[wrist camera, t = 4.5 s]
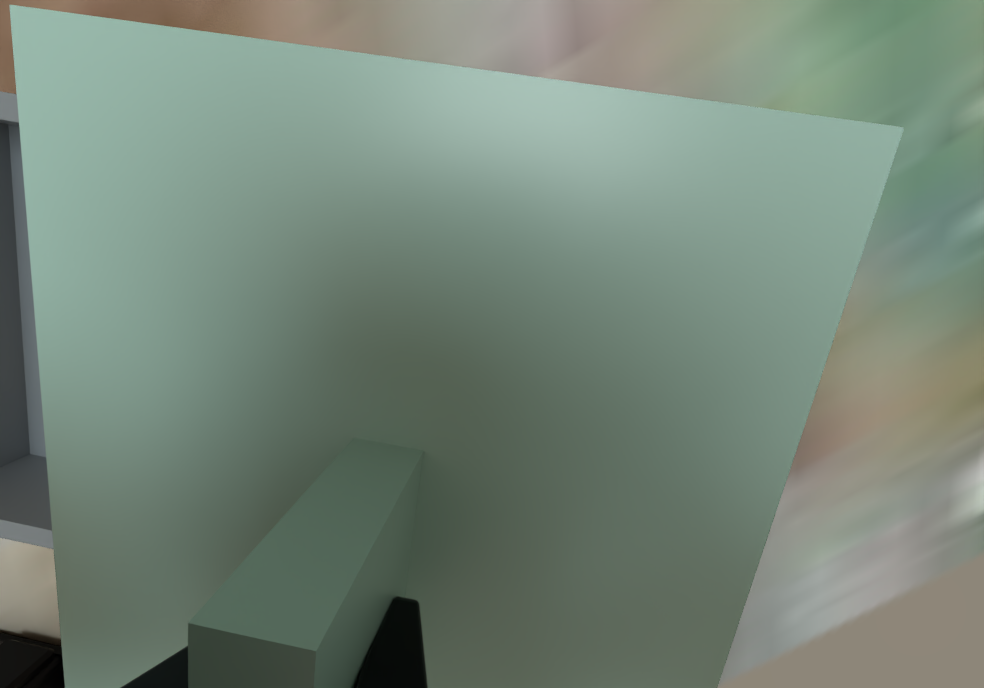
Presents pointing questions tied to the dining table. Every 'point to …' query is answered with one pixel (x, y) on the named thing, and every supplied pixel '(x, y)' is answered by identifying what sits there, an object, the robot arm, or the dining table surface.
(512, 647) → the lid
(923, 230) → the dining table surface
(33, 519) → the tub
